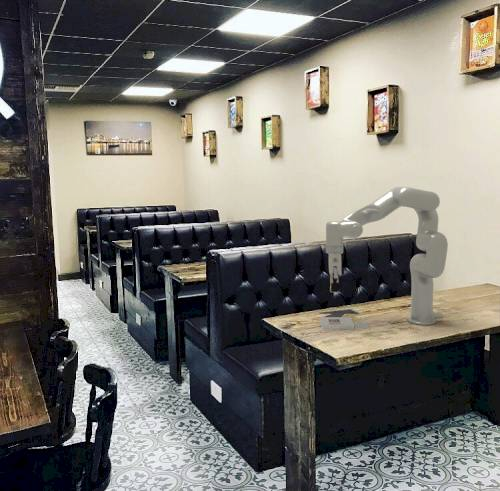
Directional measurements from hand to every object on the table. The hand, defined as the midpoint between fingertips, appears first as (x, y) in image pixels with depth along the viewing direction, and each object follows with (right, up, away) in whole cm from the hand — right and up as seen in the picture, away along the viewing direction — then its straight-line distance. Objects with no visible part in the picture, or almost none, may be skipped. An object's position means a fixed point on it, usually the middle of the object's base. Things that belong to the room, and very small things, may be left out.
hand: (334, 290), depth 224 cm
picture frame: (+7, -16, +22) cm, 28 cm away
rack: (+4, -17, +2) cm, 18 cm away
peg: (0, -1, 0) cm, 1 cm away
